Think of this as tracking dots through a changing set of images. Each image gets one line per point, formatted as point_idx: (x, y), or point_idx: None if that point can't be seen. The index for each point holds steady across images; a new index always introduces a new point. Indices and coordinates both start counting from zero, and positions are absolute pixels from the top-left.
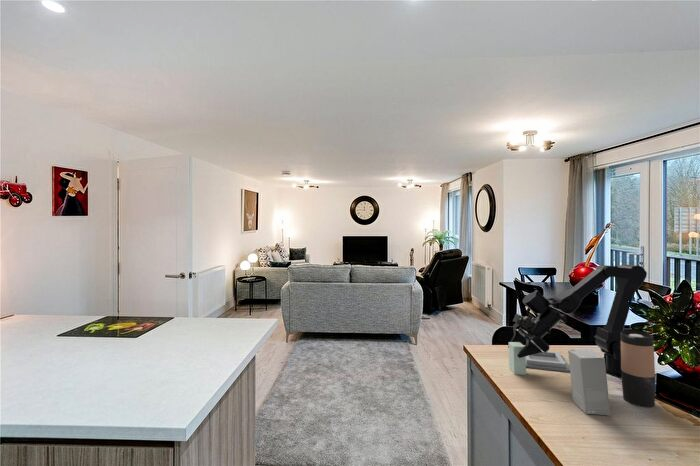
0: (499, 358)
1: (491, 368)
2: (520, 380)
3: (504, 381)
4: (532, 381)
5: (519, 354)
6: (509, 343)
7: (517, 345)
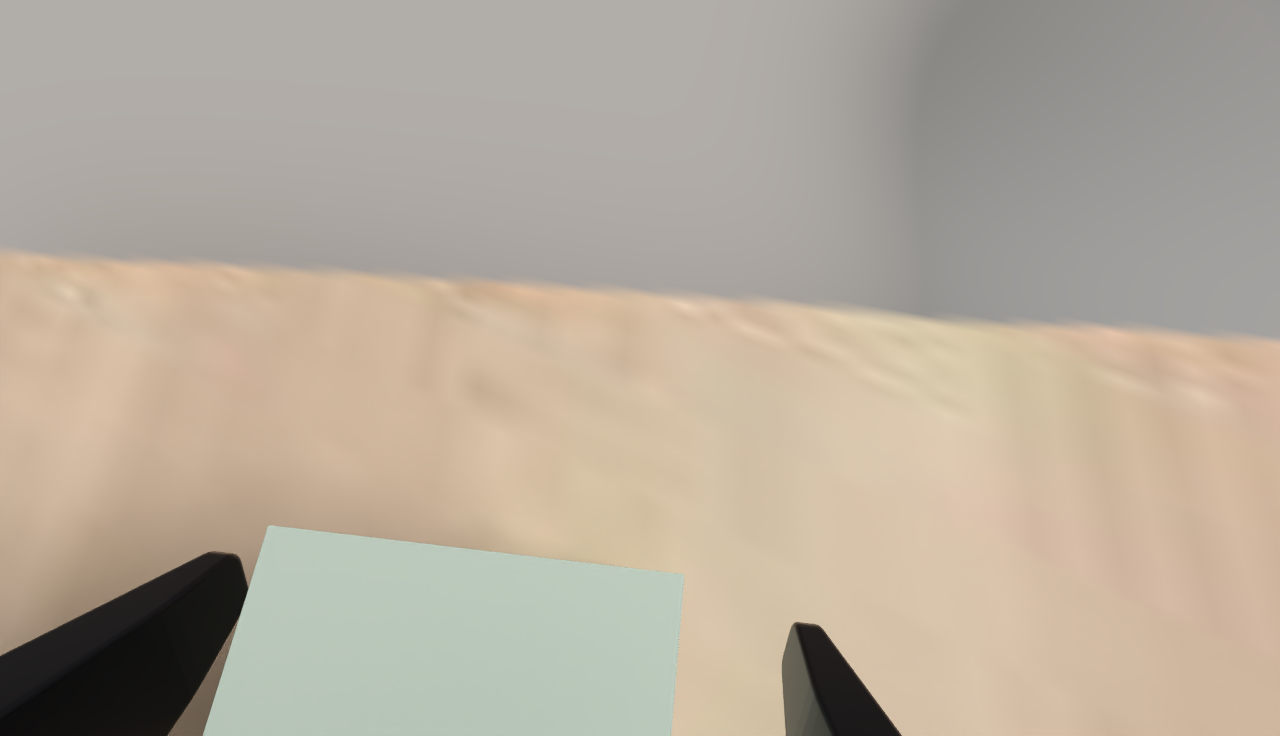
0: (1037, 613)
1: (674, 358)
2: None
3: (318, 351)
4: None
5: (154, 590)
6: (608, 566)
7: (330, 709)
